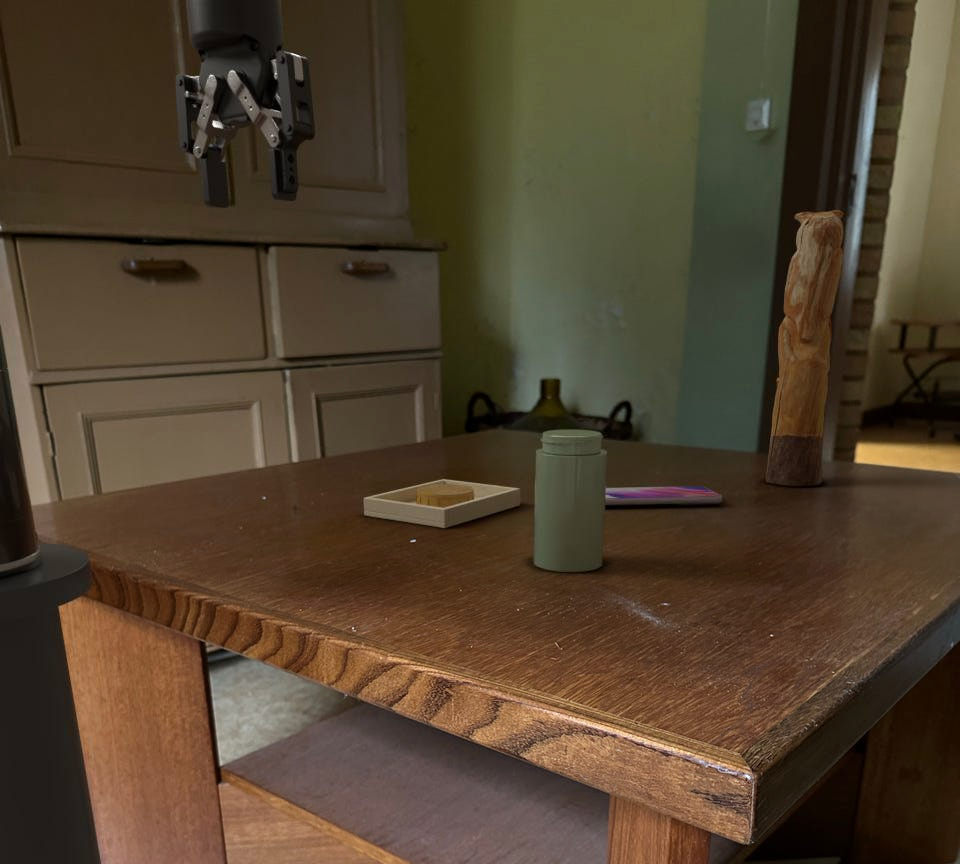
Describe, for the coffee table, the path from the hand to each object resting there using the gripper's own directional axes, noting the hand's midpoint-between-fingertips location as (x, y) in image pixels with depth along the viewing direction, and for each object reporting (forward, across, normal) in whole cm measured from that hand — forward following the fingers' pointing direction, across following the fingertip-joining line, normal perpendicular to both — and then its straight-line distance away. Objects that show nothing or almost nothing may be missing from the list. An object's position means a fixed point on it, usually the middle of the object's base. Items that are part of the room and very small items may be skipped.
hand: (249, 204), depth 79 cm
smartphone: (+28, -25, -30) cm, 48 cm away
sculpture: (+28, -34, -52) cm, 68 cm away
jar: (+28, -31, -3) cm, 42 cm away
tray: (+28, -10, -14) cm, 33 cm away
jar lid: (+26, -10, -14) cm, 31 cm away
